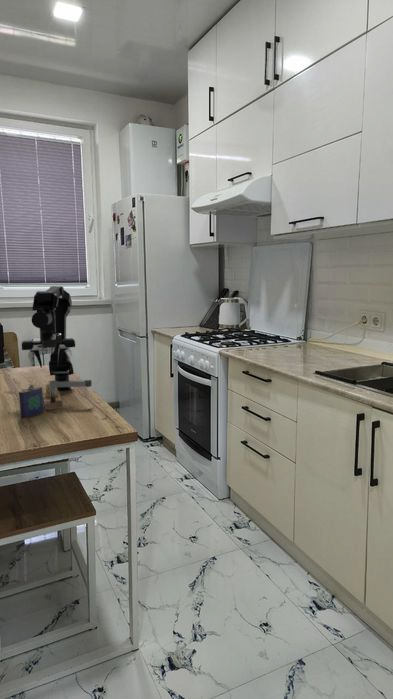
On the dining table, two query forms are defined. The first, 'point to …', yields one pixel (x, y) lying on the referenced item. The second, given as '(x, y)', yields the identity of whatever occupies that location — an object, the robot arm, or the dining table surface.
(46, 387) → the light wooden cube
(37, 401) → the flask
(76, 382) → the lever
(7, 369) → the dining table surface
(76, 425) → the dining table surface
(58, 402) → the plane body
